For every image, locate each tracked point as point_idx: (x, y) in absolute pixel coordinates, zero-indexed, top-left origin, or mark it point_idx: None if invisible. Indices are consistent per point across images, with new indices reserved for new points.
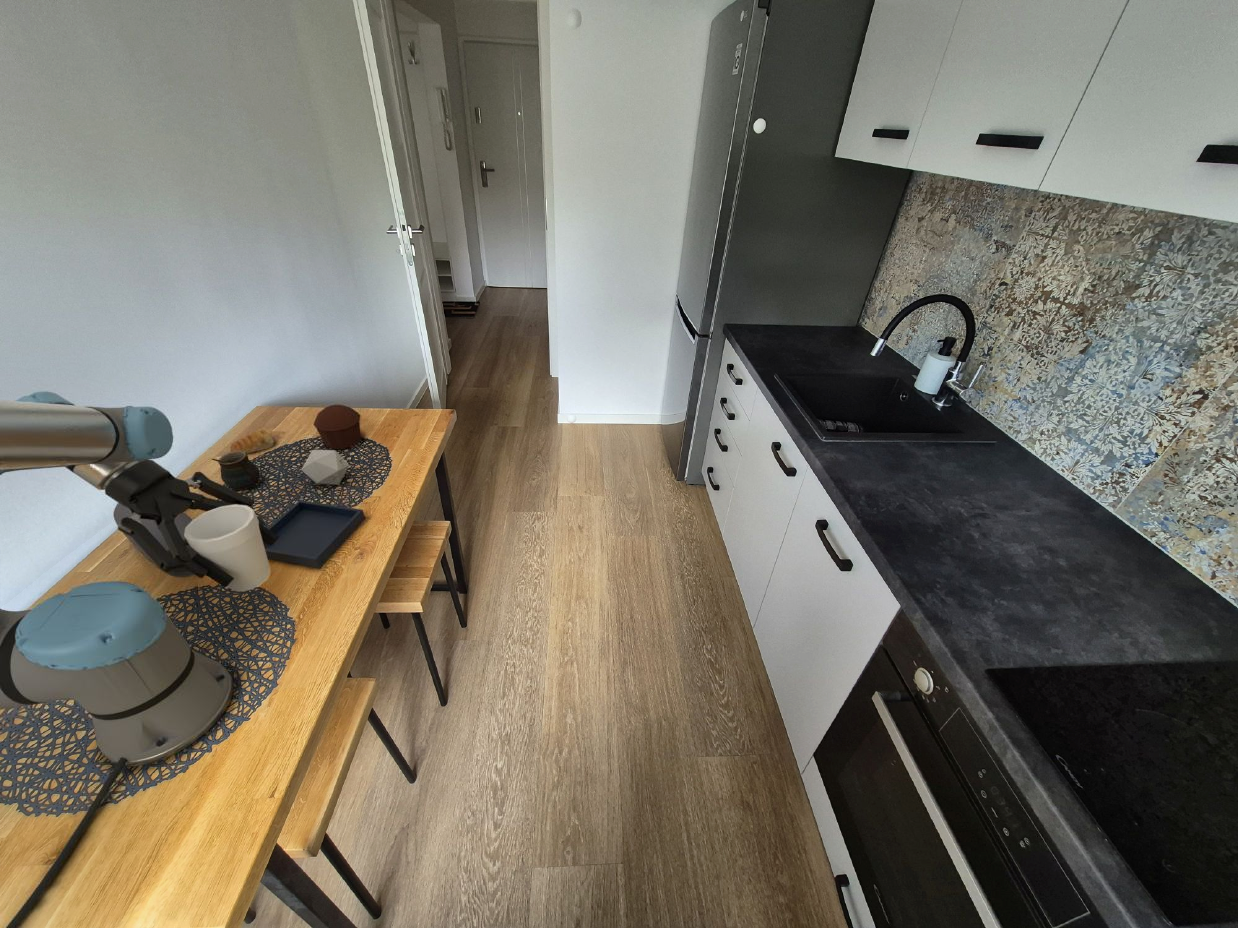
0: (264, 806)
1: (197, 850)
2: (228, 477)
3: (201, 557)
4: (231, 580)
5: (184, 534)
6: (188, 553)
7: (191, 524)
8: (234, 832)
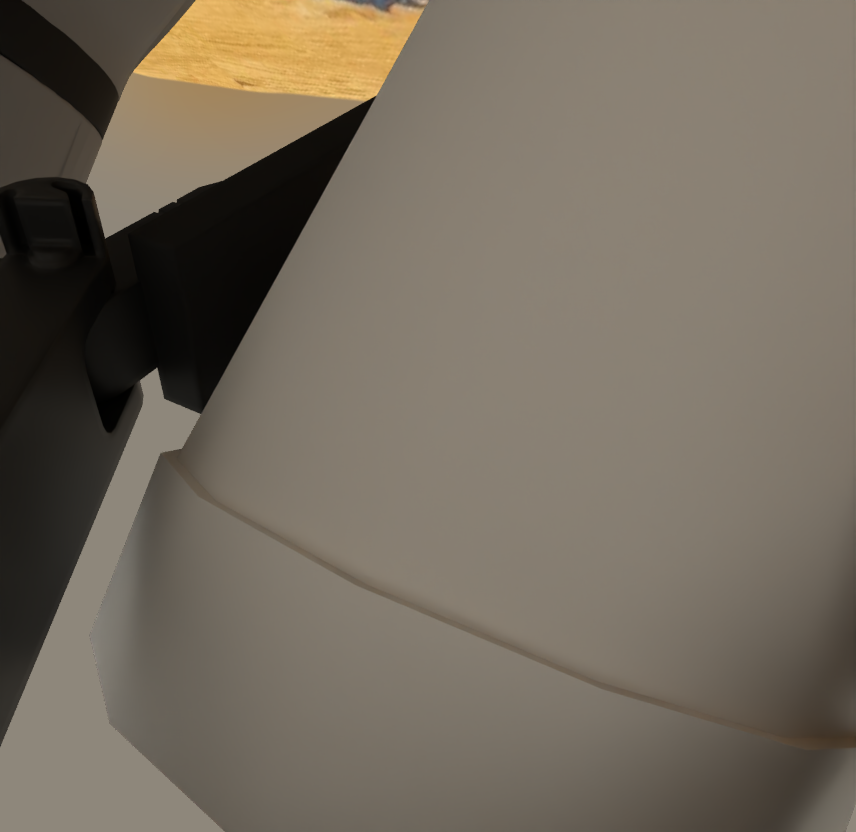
0: (221, 77)
1: None
2: None
3: None
4: None
5: (94, 645)
6: (127, 424)
7: (199, 759)
8: (163, 52)
